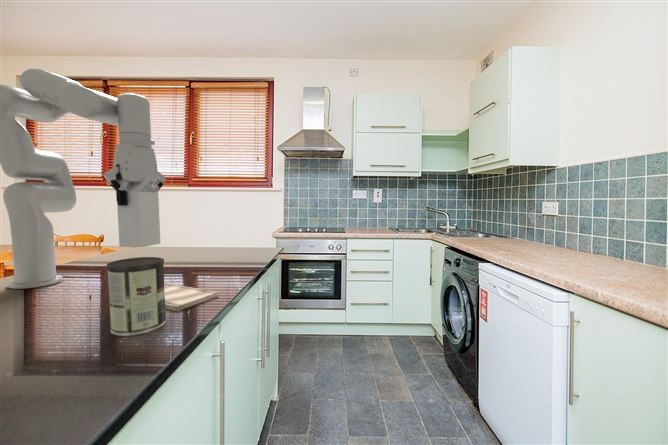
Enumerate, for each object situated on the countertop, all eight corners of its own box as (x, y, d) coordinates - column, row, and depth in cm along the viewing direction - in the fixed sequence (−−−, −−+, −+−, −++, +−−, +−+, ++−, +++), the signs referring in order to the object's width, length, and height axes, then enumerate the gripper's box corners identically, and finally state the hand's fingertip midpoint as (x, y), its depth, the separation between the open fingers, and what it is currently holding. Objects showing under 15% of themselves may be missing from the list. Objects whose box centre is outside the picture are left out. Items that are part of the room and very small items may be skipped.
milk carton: (141, 248, 85) (137, 177, 83) (119, 247, 86) (115, 177, 85) (160, 244, 92) (157, 178, 90) (140, 243, 93) (137, 178, 92)
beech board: (115, 297, 86) (115, 292, 86) (159, 285, 98) (159, 281, 98) (177, 311, 76) (177, 306, 76) (217, 296, 88) (217, 291, 88)
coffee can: (142, 314, 74) (140, 255, 73) (177, 320, 71) (175, 258, 70) (97, 332, 64) (93, 264, 63) (134, 340, 61) (131, 268, 60)
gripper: (156, 147, 96) (158, 204, 98) (92, 137, 81) (96, 205, 82) (172, 145, 93) (175, 204, 94) (110, 135, 77) (113, 206, 79)
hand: (138, 204), depth 88 cm, fingers closed on milk carton, 8 cm apart
